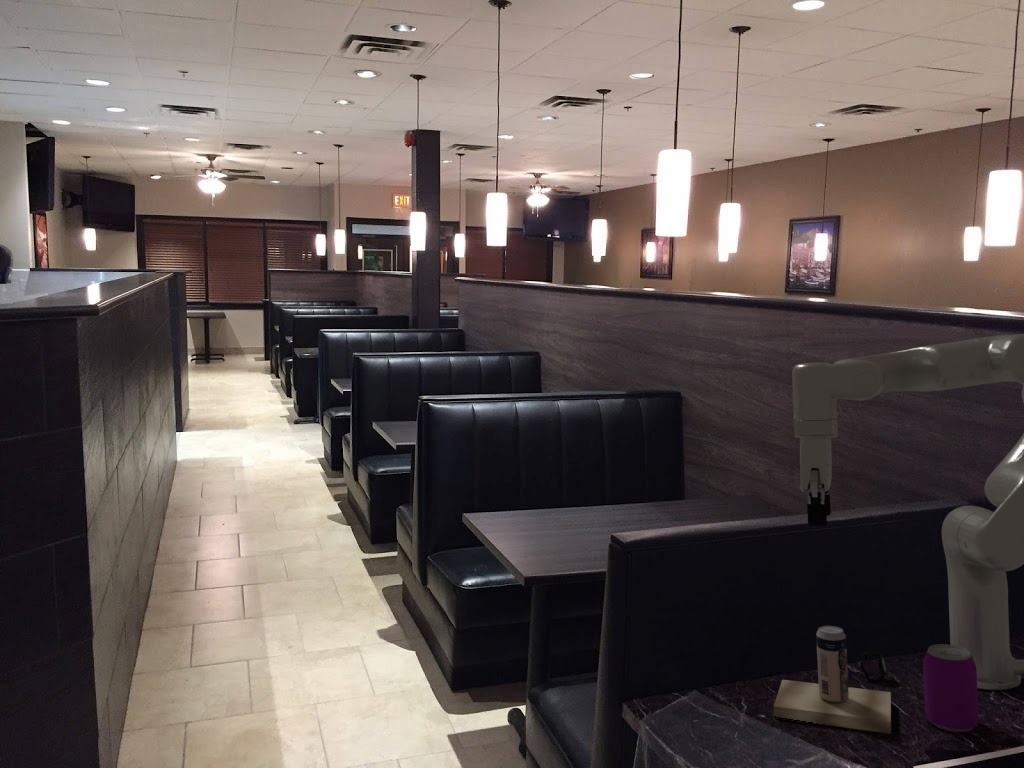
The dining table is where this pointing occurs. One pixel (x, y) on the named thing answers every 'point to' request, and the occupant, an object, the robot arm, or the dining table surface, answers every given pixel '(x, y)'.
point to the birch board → (834, 707)
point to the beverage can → (950, 688)
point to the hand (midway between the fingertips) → (819, 520)
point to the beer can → (832, 664)
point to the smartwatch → (879, 659)
